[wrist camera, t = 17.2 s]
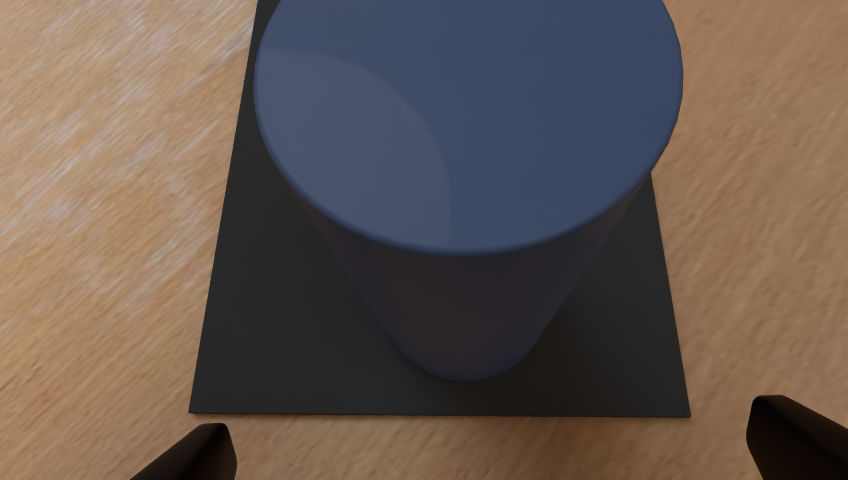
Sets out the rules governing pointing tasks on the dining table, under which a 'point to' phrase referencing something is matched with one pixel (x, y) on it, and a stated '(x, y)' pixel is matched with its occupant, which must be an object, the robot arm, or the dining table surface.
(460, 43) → the blue cylinder
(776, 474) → the robot arm
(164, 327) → the dining table surface
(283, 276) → the mat
